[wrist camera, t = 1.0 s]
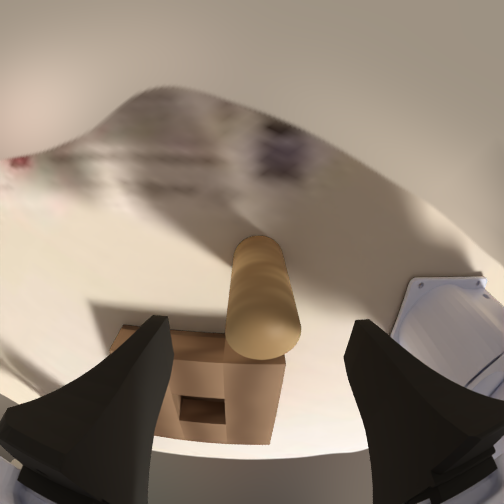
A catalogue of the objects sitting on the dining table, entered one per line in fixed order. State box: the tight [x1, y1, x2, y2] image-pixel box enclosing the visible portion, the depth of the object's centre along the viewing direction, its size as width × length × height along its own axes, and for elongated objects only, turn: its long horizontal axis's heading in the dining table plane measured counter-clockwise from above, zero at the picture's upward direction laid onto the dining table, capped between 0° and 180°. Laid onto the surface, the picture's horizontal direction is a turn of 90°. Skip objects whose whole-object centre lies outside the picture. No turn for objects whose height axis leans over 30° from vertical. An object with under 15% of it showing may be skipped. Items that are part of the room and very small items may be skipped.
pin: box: [225, 236, 301, 360], centre depth 14 cm, size 3×3×7 cm
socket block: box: [109, 325, 286, 445], centre depth 20 cm, size 12×12×3 cm
